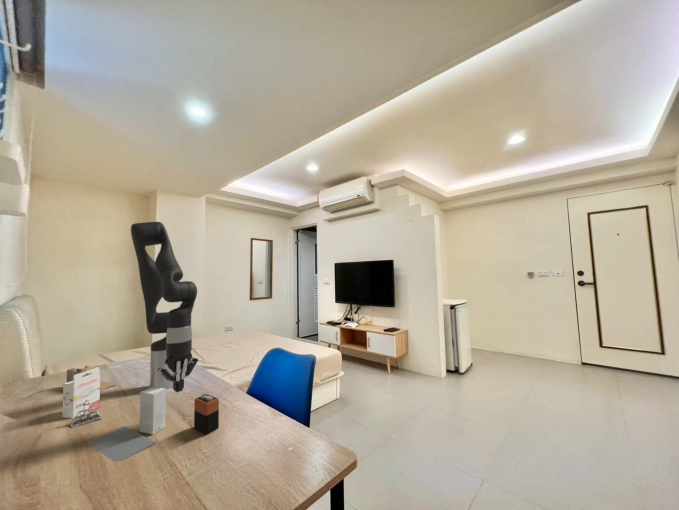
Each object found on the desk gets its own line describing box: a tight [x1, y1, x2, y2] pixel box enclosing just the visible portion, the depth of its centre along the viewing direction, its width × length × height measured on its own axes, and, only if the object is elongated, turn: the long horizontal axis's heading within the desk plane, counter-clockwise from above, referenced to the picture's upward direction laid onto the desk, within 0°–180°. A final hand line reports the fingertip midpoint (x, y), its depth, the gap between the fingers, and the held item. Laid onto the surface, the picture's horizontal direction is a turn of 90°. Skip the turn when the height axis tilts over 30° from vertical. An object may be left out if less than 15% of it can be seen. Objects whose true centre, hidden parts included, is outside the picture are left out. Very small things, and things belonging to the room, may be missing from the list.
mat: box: [87, 425, 157, 464], centre depth 73 cm, size 13×18×1 cm
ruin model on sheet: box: [61, 364, 117, 391], centre depth 116 cm, size 25×16×10 cm, turn 68°
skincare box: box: [138, 387, 167, 435], centre depth 82 cm, size 6×4×12 cm
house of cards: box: [69, 400, 102, 429], centre depth 89 cm, size 9×9×8 cm
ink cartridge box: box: [61, 366, 101, 419], centre depth 94 cm, size 9×5×15 cm, turn 168°
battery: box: [193, 393, 220, 435], centre depth 82 cm, size 4×7×10 cm, turn 58°
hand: (178, 391), depth 89 cm, fingers closed
